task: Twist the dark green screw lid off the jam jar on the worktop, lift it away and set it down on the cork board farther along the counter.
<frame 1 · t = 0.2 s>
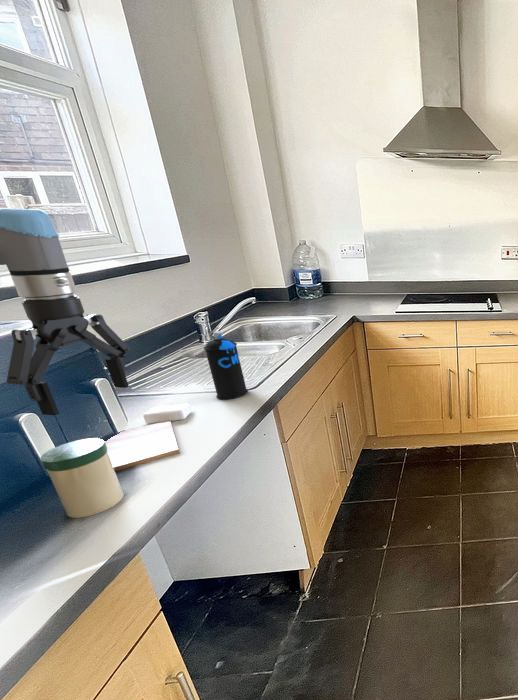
hand: (89, 399, 85), 16 cm above the table, tool pointing down, fingers open, 13 cm apart
cork board: (138, 446, 99), on the table
soap: (169, 418, 113), on the table
jar: (96, 503, 79), on the table
aerosol can: (232, 395, 128), on the table
lid: (74, 450, 75), point 12 cm above the table, screwed on, not yet turned
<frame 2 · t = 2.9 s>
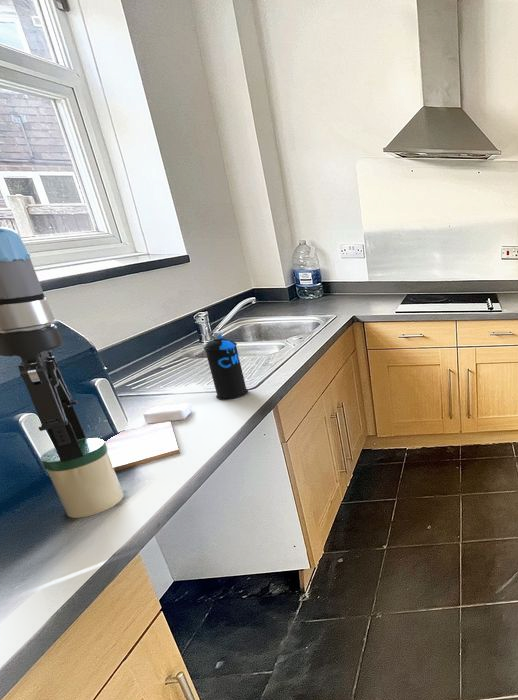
hand: (74, 448, 75), 12 cm above the table, tool pointing down
lid: (74, 450, 75), point 12 cm above the table, screwed on, not yet turned, touching gripper
everything else where it was.
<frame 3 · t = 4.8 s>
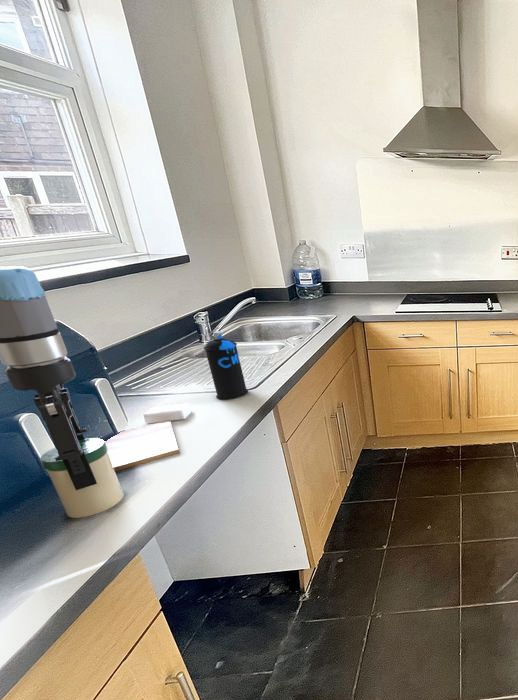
hand: (85, 475, 77), 6 cm above the table, tool pointing down, fingers closed on lid, 8 cm apart
lid: (74, 450, 75), point 12 cm above the table, screwed on, not yet turned, touching gripper
everything else where it was.
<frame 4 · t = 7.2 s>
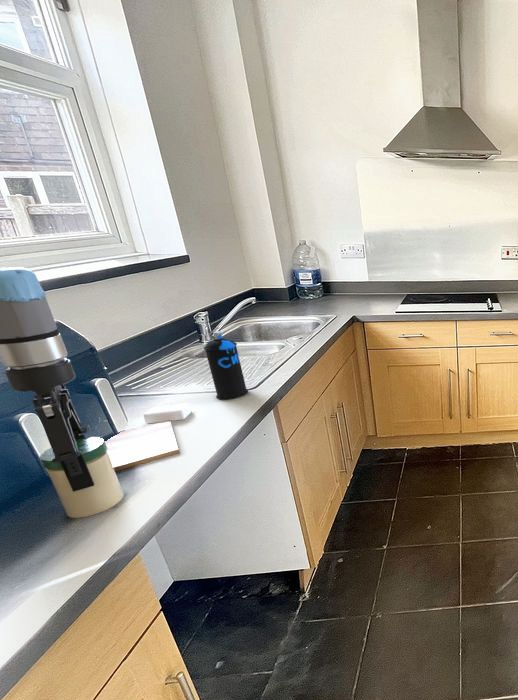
hand: (84, 476, 77), 6 cm above the table, tool pointing down, fingers closed on lid, 8 cm apart
lid: (73, 449, 75), point 12 cm above the table, turned 83° so far, risen 0.2 cm, still on its thread, touching gripper
everything else where it was.
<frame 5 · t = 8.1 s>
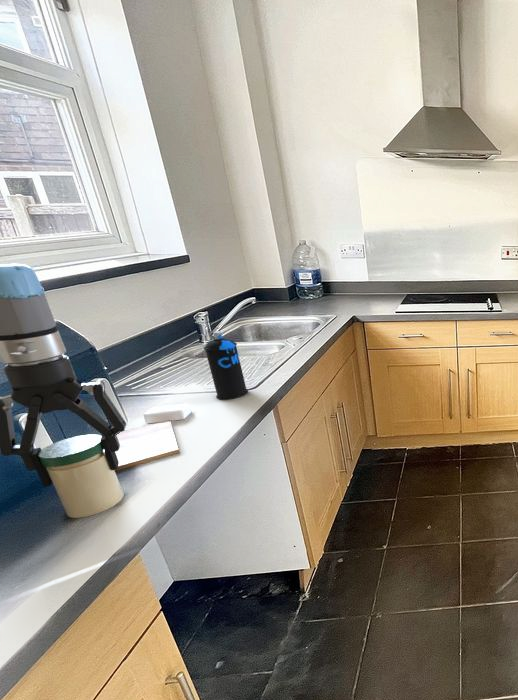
hand: (83, 474, 77), 7 cm above the table, tool pointing down, fingers closed on lid, 8 cm apart
jar: (96, 503, 79), on the table, touching gripper
lid: (72, 447, 75), point 12 cm above the table, off its thread, touching gripper
everything else where it was.
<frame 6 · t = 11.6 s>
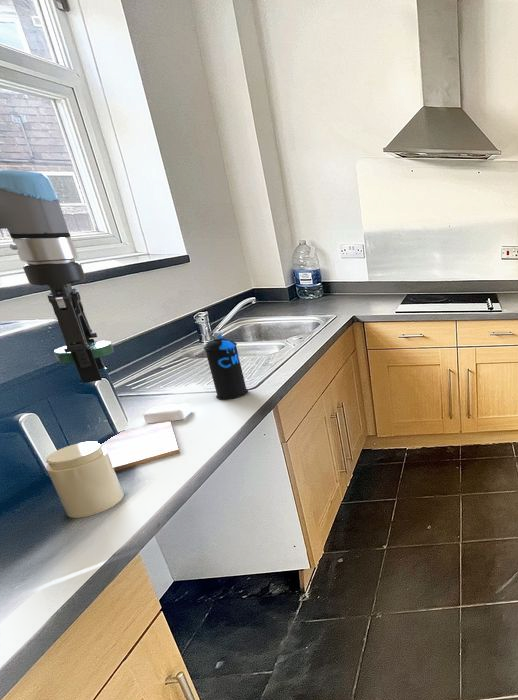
hand: (93, 375, 85), 21 cm above the table, tool pointing down, fingers closed on lid, 8 cm apart
jar: (96, 503, 79), on the table
lid: (83, 348, 83), point 27 cm above the table, off its thread, touching gripper
everything else where it was.
when the fingers open (4 cm above the table, at t = 16.4 s): lid drops 7 cm, resting on cork board.
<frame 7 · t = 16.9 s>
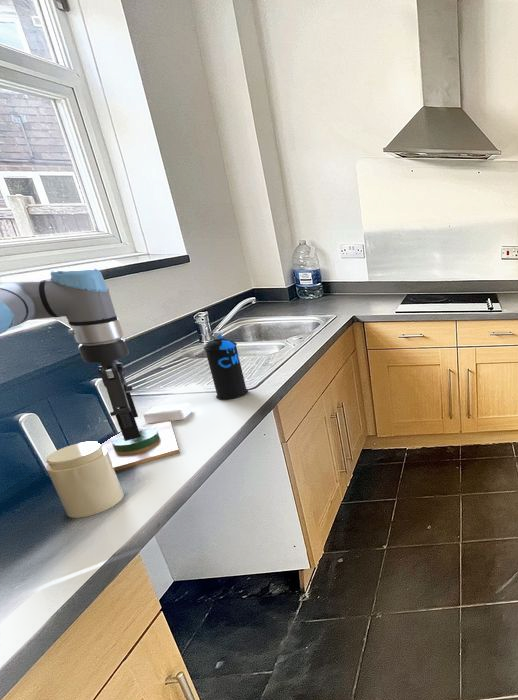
hand: (131, 427, 97), 5 cm above the table, tool pointing down, fingers open, 13 cm apart
lid: (135, 437, 98), point 2 cm above the table, off its thread, touching cork board
everything else where it was.
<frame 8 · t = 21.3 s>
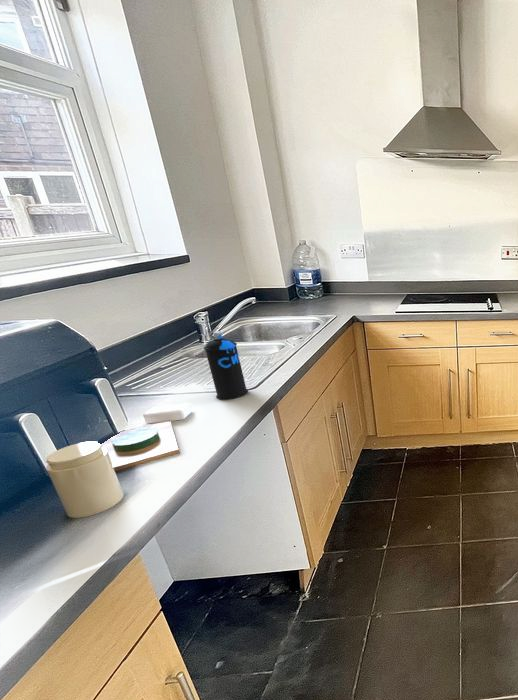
nothing on the table moved.
at the end: lid inside the target area on the cork board (0.0 cm from its centre), point 2.5 cm above the cork board's base; lid point 2.5 cm above the table; the gripper is holding nothing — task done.
